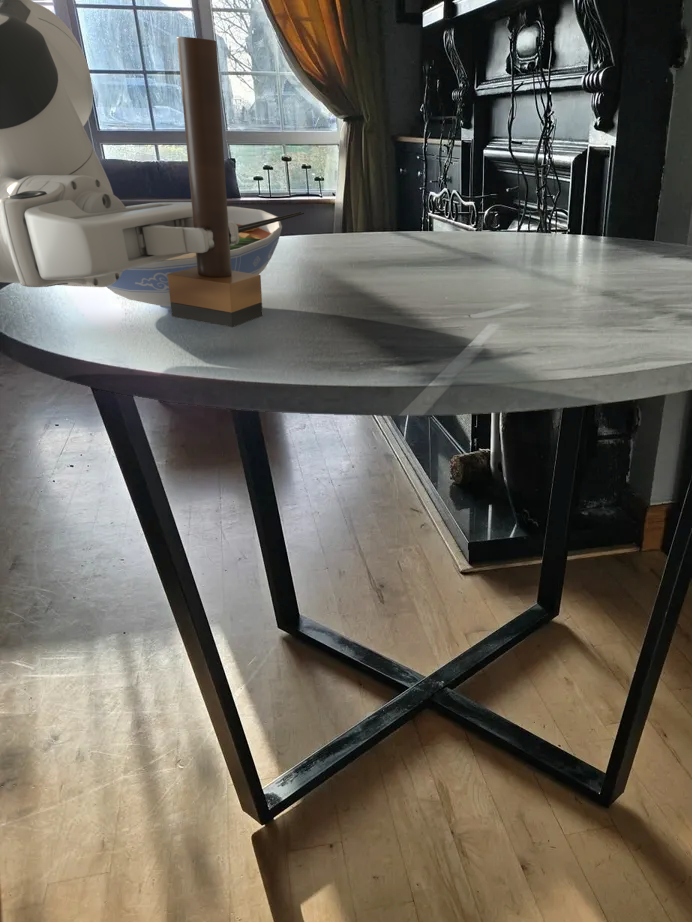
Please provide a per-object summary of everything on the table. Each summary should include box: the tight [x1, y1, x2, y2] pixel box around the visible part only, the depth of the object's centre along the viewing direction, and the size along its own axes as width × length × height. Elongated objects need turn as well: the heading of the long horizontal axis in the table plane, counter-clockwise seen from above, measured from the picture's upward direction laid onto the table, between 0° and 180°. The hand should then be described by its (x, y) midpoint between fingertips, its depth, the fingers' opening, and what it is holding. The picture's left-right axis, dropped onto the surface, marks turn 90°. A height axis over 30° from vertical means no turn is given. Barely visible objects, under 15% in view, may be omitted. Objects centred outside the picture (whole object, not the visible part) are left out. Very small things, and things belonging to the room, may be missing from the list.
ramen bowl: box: [106, 205, 305, 311], centre depth 86 cm, size 25×23×8 cm
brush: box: [167, 36, 263, 328], centre depth 63 cm, size 6×5×20 cm
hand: (222, 237), depth 65 cm, fingers closed on brush, 3 cm apart
